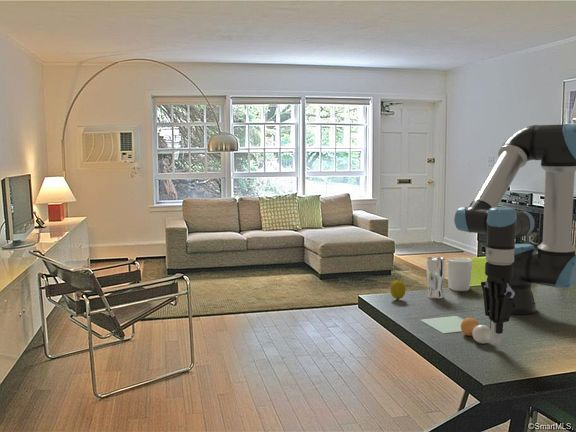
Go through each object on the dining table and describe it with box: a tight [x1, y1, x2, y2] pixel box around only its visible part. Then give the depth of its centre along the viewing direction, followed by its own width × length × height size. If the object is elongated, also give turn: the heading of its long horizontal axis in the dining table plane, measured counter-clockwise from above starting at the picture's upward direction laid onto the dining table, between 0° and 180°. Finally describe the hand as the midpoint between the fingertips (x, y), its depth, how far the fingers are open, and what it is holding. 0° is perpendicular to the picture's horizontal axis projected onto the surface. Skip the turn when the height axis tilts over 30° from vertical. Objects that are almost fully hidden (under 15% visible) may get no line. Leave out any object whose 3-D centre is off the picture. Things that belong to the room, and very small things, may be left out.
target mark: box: [419, 315, 464, 335], centre depth 182 cm, size 14×14×1 cm
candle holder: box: [447, 256, 474, 292], centre depth 227 cm, size 10×10×12 cm
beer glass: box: [426, 256, 446, 300], centre depth 214 cm, size 7×7×15 cm
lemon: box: [390, 279, 406, 301], centre depth 210 cm, size 6×6×8 cm
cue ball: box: [472, 324, 491, 344], centre depth 165 cm, size 6×6×6 cm
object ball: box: [461, 317, 480, 337], centre depth 171 cm, size 6×6×6 cm
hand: (495, 342), depth 160 cm, fingers closed
